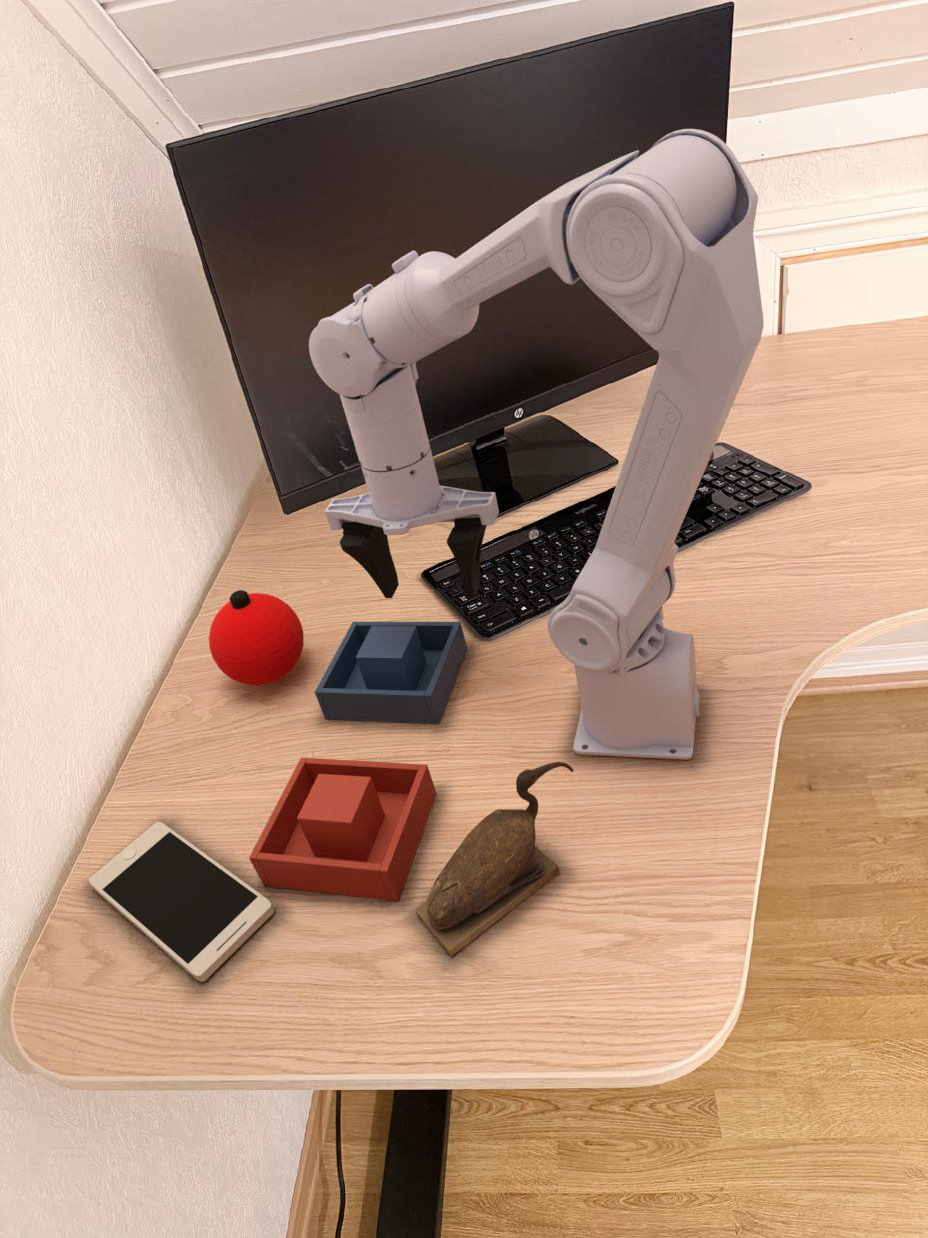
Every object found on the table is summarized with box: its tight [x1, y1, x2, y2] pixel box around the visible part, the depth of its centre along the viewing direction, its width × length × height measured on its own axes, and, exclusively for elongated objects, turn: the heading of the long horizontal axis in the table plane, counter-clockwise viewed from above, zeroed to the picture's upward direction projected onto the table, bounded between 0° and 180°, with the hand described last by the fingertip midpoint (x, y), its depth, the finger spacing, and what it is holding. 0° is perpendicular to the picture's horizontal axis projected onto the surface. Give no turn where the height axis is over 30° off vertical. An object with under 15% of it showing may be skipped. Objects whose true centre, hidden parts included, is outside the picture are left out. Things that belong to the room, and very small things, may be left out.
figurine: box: [415, 761, 574, 957], centre depth 63 cm, size 14×4×9 cm, turn 126°
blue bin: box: [314, 621, 469, 725], centre depth 85 cm, size 11×10×4 cm
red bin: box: [248, 757, 437, 902], centre depth 71 cm, size 11×10×4 cm
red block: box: [297, 774, 385, 861], centre depth 70 cm, size 4×4×4 cm
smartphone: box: [88, 821, 275, 983], centre depth 70 cm, size 7×16×1 cm, turn 50°
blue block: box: [356, 626, 427, 691], centre depth 85 cm, size 4×4×4 cm
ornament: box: [208, 589, 305, 687], centre depth 88 cm, size 9×9×10 cm
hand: (432, 591), depth 80 cm, fingers open, 7 cm apart
